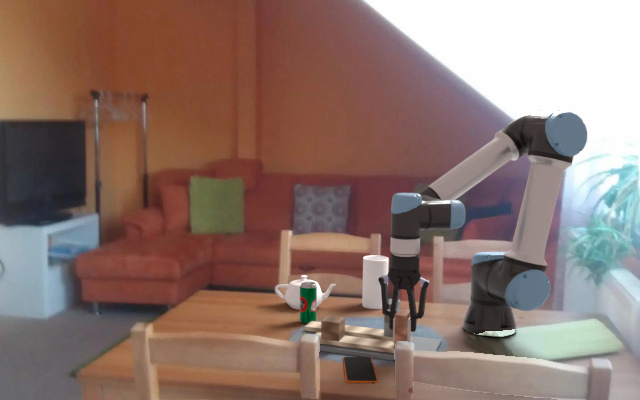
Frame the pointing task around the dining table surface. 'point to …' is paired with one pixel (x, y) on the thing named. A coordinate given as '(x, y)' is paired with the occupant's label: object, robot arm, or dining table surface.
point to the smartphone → (359, 370)
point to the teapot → (294, 292)
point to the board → (419, 343)
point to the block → (333, 328)
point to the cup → (373, 280)
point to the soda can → (308, 302)
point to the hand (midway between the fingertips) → (402, 342)
